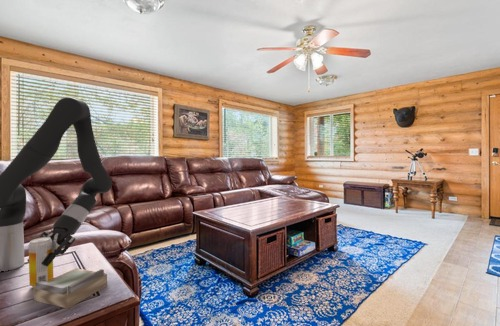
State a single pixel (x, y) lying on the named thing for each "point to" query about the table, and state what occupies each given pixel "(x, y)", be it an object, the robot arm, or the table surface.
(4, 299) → the table surface
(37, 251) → the beer can
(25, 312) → the table surface
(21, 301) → the table surface
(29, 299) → the table surface
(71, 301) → the square tray
